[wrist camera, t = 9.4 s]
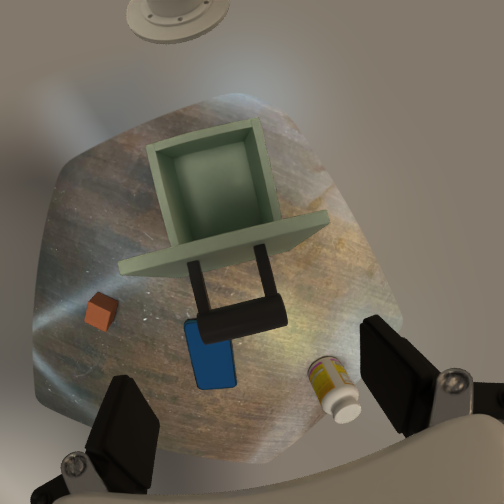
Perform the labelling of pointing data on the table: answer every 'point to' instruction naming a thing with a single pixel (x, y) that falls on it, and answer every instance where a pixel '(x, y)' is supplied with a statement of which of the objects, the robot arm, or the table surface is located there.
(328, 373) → the supplement bottle
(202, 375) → the smartphone
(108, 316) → the block
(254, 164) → the green box
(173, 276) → the box lid
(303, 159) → the table surface
